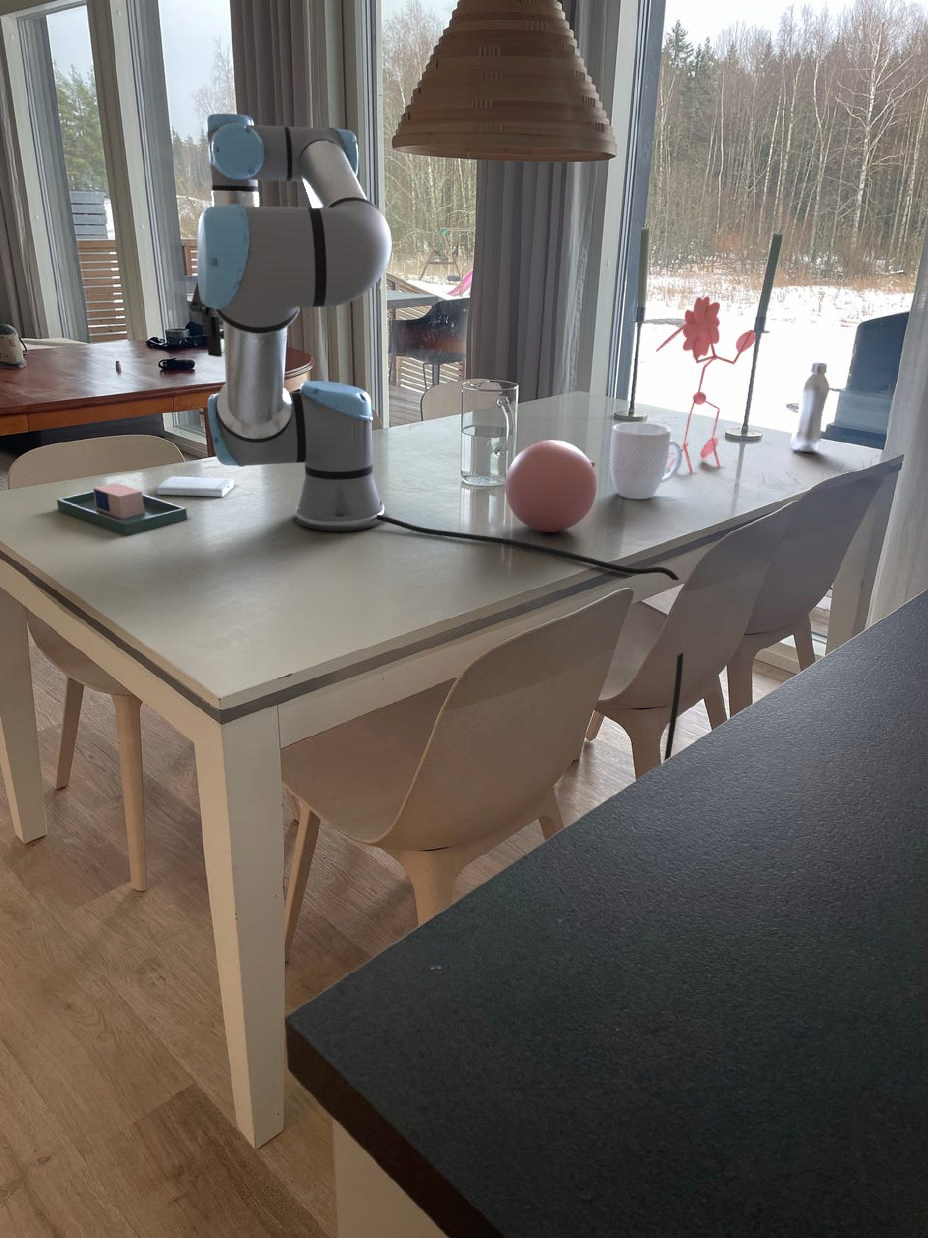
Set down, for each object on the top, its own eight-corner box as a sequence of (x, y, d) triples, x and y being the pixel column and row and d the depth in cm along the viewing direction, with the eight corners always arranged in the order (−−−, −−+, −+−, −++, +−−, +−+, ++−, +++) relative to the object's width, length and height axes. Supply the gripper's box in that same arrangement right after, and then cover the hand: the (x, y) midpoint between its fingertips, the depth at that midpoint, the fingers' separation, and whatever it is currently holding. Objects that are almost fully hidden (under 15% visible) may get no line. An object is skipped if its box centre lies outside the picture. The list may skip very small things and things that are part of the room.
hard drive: (156, 487, 174) (221, 489, 173) (171, 475, 181) (233, 477, 181) (157, 495, 175) (222, 497, 174) (172, 483, 182) (234, 485, 182)
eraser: (145, 513, 163) (142, 491, 161) (121, 519, 159) (118, 496, 158) (119, 504, 167) (116, 482, 166) (95, 509, 164) (92, 487, 162)
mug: (661, 483, 189) (669, 419, 184) (691, 498, 180) (700, 431, 174) (596, 489, 184) (602, 423, 179) (623, 505, 175) (630, 436, 170)
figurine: (746, 463, 206) (771, 297, 192) (668, 479, 192) (689, 301, 178) (692, 449, 218) (712, 291, 203) (615, 464, 203) (630, 295, 189)
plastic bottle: (821, 450, 219) (837, 363, 211) (814, 455, 214) (830, 366, 206) (793, 446, 222) (808, 360, 214) (786, 451, 217) (800, 364, 209)
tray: (187, 519, 162) (186, 508, 161) (126, 535, 153) (125, 524, 152) (118, 496, 174) (117, 485, 173) (58, 510, 165) (56, 499, 164)
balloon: (626, 525, 164) (635, 438, 158) (553, 550, 151) (559, 457, 144) (559, 505, 174) (564, 423, 167) (485, 528, 161) (488, 440, 154)
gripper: (279, 219, 165) (286, 343, 174) (159, 219, 147) (173, 356, 156) (308, 220, 161) (314, 347, 170) (188, 220, 143) (201, 361, 152)
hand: (246, 352), depth 163 cm, fingers open, 13 cm apart
